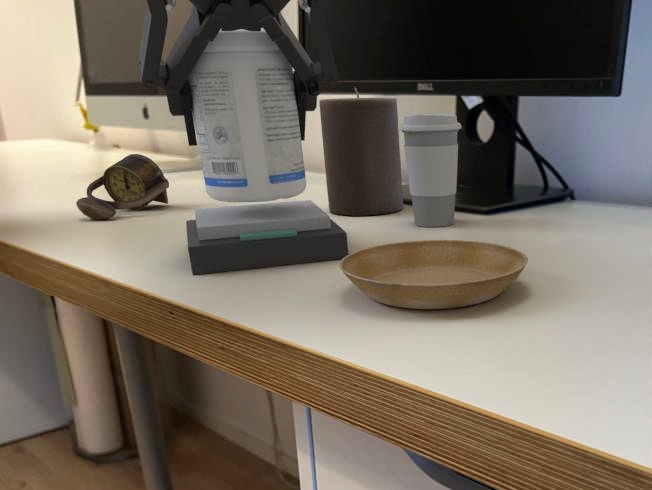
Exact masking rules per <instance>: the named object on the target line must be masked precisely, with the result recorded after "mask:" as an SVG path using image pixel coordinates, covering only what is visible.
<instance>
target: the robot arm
mask: <svg viewBox="0 0 652 490" xmlns="http://www.w3.org/2000/svg"><path fill="white" fill-rule="evenodd" d="M187 1H188V2H189V3H190V4H191V5H192V6H191V7H192V8H191V12H190V16H189V17H188V19H187V20H186V23H185V24H184V26H183V28H182V30H181V32H180V33H179V35H178V37H177V39H176V40H175V42H174V44H173V46H172V47H171V50H170V51H169V53H168V55H167V56H166V58H165V60H164V59H162V58H163V52H164V47H165V46H164V45H165V41H166V35H167V29H168V22H169V19H168V18H169V17H168V12H171V11H173V9H174V8H173V7H175V6H176V4H177V0H146V4H145V5H146V7H145V13H144V14H145V15H144V21H143V27H142V33H141V40H140V46H139V47H140V48H139V49H140V50H139V55H138V68H139V76H140V81H141V85H142V87H143V88H145V89H148V90H152V89H155V88H156V87H158V88H161V89H163V91H165V94H166V100H167V104H168V105H167V106H168V111H169V113H170V114H171V116H172V117H181V116H183V118H184V119H183V120H184V126H185V131H186V137H187V143H188V147H194V146H195V147H197V146H198V141H197V135H196V130H195V124H194V118H193V112H192V107H191V100H190V94H189V88H188V82H187V78H188V76H189V75H190V73H191V71H192V70H193V68H194V66H195V65H196V63H197V61H198V60H199V58H200V56H201V55H202V53H203V51H204V50H205V48H206V46H207V45H208V43H209V42H213V41H214V39H215V37H216V36H217V34H218V32H219V31H240V30H242V31H262V29H263V31H266V33H267V34H268V36H269V37H270V39H271V40H272V41H273V42H275V43H276V44H277V46H278V47H279V49H280V50H281V52H282V53H283V54H284V56H285V57H286V59H287V60H288V62H289V63H290V65H291V66H292V69H293V77H294V85H295V93H296V101H297V110H298V118H299V126H300V134H301V142H302V141H304V142H305V139H306V120H307V112H315V110H316V109H317V105H318V96H320V94H322V93H321V92H322V91H321V86H322V84H328V85H330V86H334V85H336V84H338V83H339V81H340V78H339V74H338V71H337V66H336V62H335V58H334V55H333V50H332V46H331V42H330V38H329V34H328V29H327V26H326V21H325V13H326V9H327V2H328V1H327V0H297V2H298V5H299V8H300V9H302V10H303V11H304V12H305V13H307V17H308V21H309V24H310V28H311V31H312V35H313V38H314V43H315V45H316V49H317V54H318V57H319V61H318V62H315V63H314V62H313V61H312V59H311V58H310V56H309V55H308V53H307V52H306V50H305V48H304V47H303V45H302V44H301V42H300V41H299V40H298V39H299V38H298V37H297V36H296V35H295V33H294V32H293V30H292V28H291V27H290V25H289V24H288V22H287V21H286V19H285V17H284V16H283V14H282V11H283V10H284V9H285V7H286V6H287V5H288V4H289V3H290V2H291V0H187Z"/></svg>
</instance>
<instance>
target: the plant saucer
mask: <svg viewBox="0 0 652 490" xmlns="http://www.w3.org/2000/svg"><path fill="white" fill-rule="evenodd" d="M348 254H349V255H347V256H346V257H344V258H343V259H340V261H339V262H338V263H339V265H338V266H339V269H340V271H342V272H343V274H344V275H345V277H346V278H347V279H348V280H349V281H350V282H351V283H352V284H353V285H355V286H356V287H357V288H358V290H360V291H361V292H362V293H364V294H365V295H366V296H367V297H369V298H370V299H372V300H374V301H376V302H378V303H381V304H384V305H388V306H393V307H395V308H401V309H402V308H403V309H410V310H411V309H412V310H446V309H447V310H449V309H455V308H463V307H469V306H474V305H478V304H481V302H482V303H485V302H488V301H489V300H492V299H494V298H496V297H497V296H499V295H500V294H502V293H503V292H504V291H505V290H506V289H507V288H508V287H509V286H511V284H513V283H514V281H515V280H517V278H518V277H519V276H520V275H521V274H522V272H523V271H524V269H525V268H526V266H527V265H528V263H529V258H528V256H527V255H526V254H525V253H524V252H523V251H521V250H518V249H515V248H513V247H510V246H505V245H501V244H498V243H491V242H482V241H476V240H459V239H429V240H427V239H426V240H425V239H424V240H410V241H399V242H391V243H385V244H381V245H379V244H378V245H374V246H370V247H366V248H362V249H359V250H356V251H354V252H352V253H348ZM484 301H485V302H484ZM473 304H474V305H473ZM468 305H469V306H468Z"/></svg>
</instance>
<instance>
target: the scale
mask: <svg viewBox="0 0 652 490" xmlns="http://www.w3.org/2000/svg"><path fill="white" fill-rule="evenodd" d="M194 216H195V219H187V220H186V221H185V225H186V241H187V251H188V257H189V262H190V268H191V273H192V275H193V276H196V275H204V274H216V273H224V272H233V271H243V270H244V271H245V270H253V269H263V268H272V267H280V266H291V265H299V264H300V265H301V264H308V263H318V262H328V261H338V260H342V259H343V258H344V257H346V256H347V255H349V254H350V253H349V244H348V243H349V242H348V232H346V231H345V230H344V229H343V228H342V227H341V226H339V224H338V223H336V222H335V221H334V220H333V219H332V218H331V217H330V215H329V214H328V213H326V212H325V211H324V210H323V209H322V208H321V207H319V205H317V204H316V203H315V202H313V201H312V199H307V200H294V201H281V202H280V201H279V202H269V203H267V202H266V203H255V204H241V205H228V206H214V207H203V208H201V207H200V208H194Z"/></svg>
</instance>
